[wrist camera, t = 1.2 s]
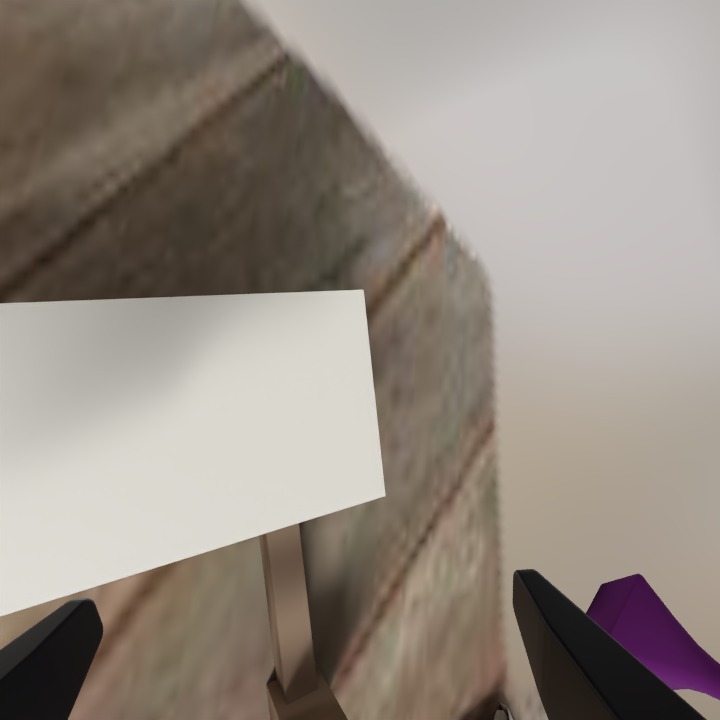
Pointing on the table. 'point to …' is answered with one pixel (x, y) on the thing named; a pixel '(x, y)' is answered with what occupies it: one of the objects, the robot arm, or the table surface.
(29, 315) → the low shelf
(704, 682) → the perfume bottle
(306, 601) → the tan post with foot
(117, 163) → the table surface
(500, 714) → the newspaper
